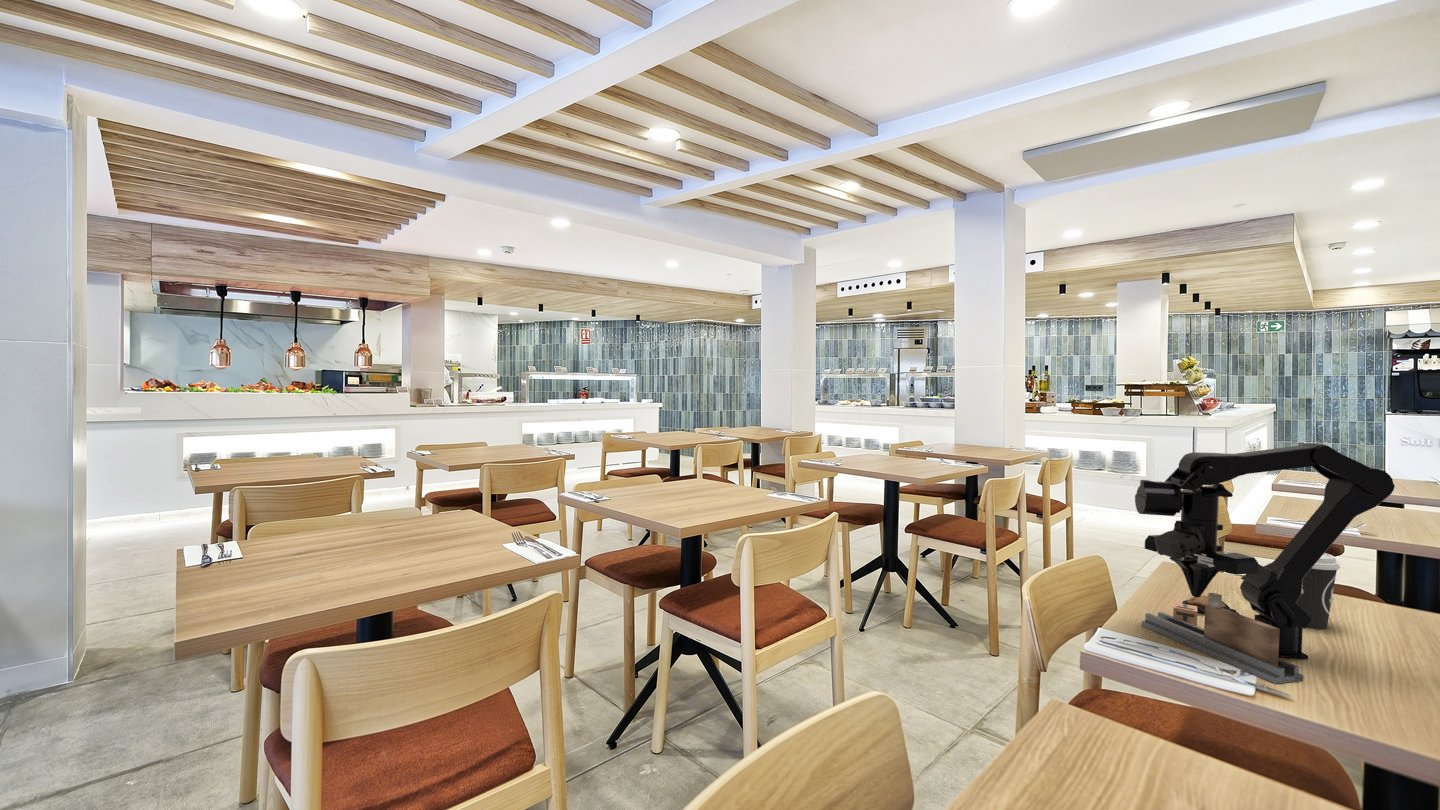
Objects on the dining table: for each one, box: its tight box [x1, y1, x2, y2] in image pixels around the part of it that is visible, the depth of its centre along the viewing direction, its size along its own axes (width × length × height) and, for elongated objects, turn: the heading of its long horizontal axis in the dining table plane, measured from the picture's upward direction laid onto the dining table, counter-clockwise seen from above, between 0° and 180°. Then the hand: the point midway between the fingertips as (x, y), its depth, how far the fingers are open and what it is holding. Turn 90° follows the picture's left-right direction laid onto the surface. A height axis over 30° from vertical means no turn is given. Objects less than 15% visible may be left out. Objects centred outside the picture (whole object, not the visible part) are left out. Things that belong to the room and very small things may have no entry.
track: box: [1140, 611, 1304, 685], centre depth 119 cm, size 26×6×2 cm, turn 12°
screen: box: [1203, 592, 1280, 666], centre depth 114 cm, size 12×2×9 cm, turn 12°
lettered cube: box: [1172, 601, 1198, 626], centre depth 131 cm, size 4×4×4 cm
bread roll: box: [1181, 595, 1240, 617], centre depth 140 cm, size 11×8×4 cm
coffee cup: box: [1296, 552, 1341, 630], centre depth 133 cm, size 10×10×15 cm
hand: (1196, 596), depth 122 cm, fingers closed
